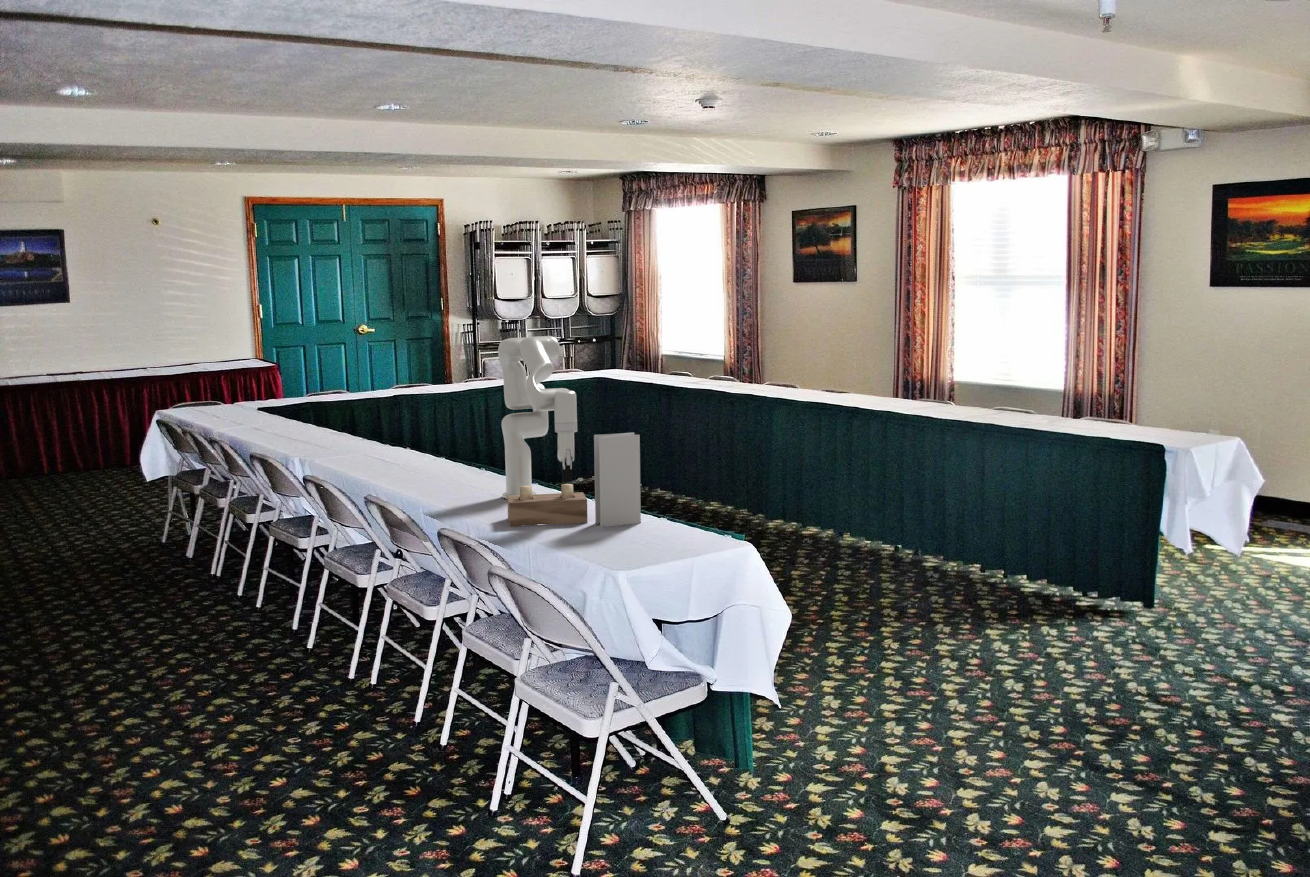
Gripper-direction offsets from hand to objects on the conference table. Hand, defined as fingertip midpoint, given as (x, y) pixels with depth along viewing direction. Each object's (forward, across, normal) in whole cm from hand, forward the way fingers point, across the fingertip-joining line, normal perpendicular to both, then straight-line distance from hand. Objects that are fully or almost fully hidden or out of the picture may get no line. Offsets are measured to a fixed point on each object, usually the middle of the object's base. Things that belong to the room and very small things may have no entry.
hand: (567, 480), depth 372 cm
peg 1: (+9, -1, -14) cm, 17 cm away
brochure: (+14, +8, +16) cm, 23 cm away
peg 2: (+9, -1, 0) cm, 9 cm away
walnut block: (+13, -1, -7) cm, 15 cm away
